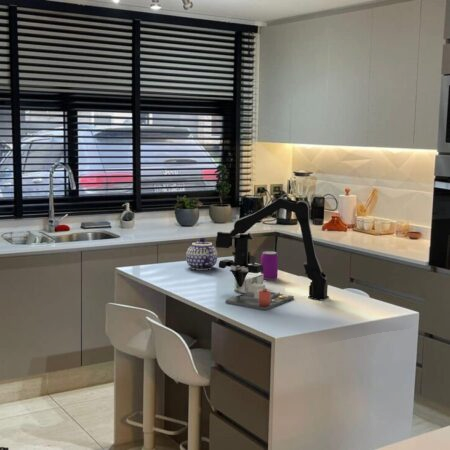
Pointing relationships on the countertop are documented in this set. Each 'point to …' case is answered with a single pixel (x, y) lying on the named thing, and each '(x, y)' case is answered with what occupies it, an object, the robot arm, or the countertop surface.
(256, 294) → the block
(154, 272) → the countertop surface
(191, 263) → the teapot
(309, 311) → the countertop surface
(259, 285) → the breaker
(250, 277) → the syrup box
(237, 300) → the panel
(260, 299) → the lockout cap
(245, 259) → the robot arm
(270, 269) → the beverage can
